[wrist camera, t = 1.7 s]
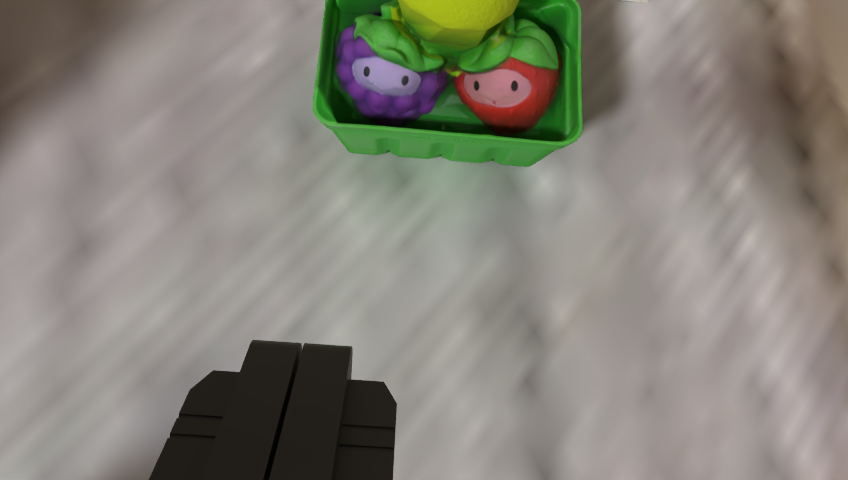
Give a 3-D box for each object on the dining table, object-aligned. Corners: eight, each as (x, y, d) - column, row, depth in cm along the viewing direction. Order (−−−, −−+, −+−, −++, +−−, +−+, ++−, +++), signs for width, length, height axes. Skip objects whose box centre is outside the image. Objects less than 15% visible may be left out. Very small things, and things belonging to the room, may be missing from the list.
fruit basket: (317, 175, 38) (296, 36, 28) (335, 17, 41) (323, -163, 31) (557, 195, 39) (627, 64, 28) (557, 37, 42) (621, -134, 31)
